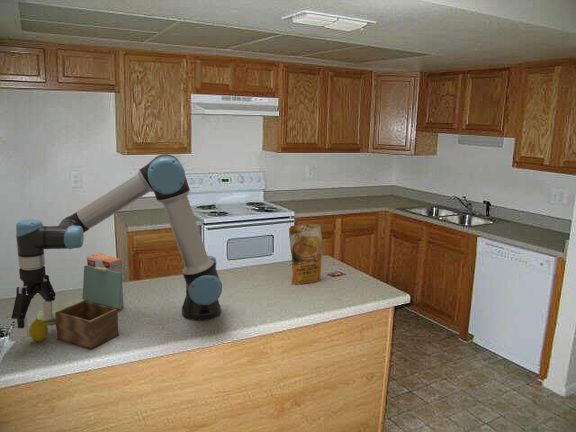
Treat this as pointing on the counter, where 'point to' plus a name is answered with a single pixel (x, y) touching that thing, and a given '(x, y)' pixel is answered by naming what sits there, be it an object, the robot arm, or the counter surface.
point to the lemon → (38, 330)
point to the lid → (102, 286)
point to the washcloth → (54, 309)
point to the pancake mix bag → (306, 252)
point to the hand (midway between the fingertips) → (36, 327)
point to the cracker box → (108, 263)
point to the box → (87, 324)
